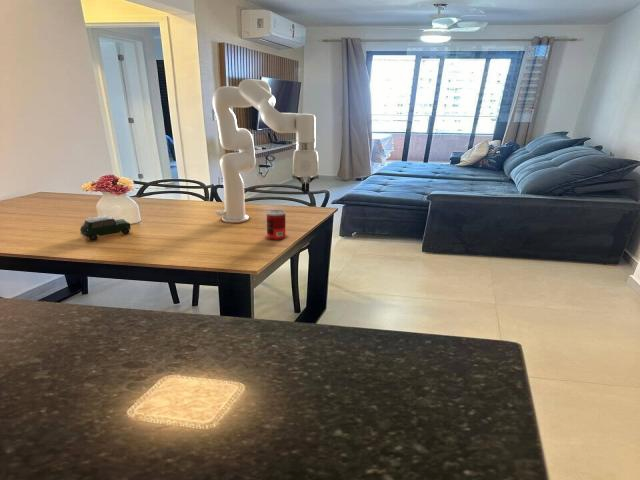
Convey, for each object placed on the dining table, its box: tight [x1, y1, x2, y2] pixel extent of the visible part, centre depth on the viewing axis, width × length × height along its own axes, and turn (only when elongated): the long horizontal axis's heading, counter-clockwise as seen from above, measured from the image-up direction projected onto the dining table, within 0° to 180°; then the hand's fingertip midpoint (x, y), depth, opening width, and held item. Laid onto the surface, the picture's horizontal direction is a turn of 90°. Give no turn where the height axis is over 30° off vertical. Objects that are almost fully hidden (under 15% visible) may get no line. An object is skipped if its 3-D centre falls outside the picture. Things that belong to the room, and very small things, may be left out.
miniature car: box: [79, 214, 132, 242], centre depth 156 cm, size 9×18×8 cm, turn 134°
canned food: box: [266, 209, 287, 241], centre depth 159 cm, size 8×8×11 cm
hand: (305, 193), depth 155 cm, fingers closed
